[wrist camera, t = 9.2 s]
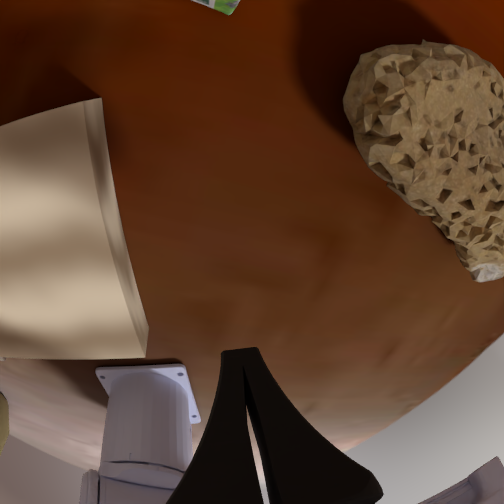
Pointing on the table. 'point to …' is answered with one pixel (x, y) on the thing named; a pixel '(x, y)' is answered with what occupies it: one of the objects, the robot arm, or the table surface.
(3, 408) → the squeeze bottle
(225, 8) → the syrup box
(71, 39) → the table surface
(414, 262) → the table surface
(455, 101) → the sponge
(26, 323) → the platform
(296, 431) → the robot arm
